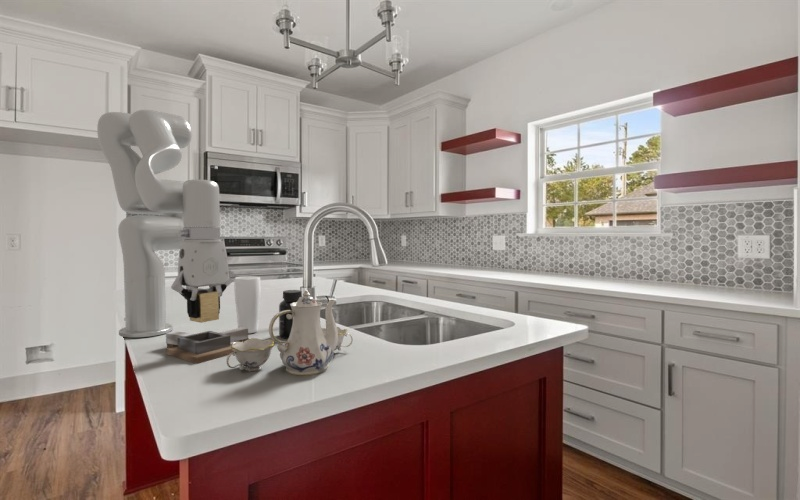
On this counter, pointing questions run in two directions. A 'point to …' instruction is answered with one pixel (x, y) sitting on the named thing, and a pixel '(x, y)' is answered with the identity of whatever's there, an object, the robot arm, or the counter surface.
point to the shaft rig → (203, 344)
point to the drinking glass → (247, 302)
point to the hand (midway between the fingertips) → (204, 314)
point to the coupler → (207, 305)
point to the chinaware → (296, 341)
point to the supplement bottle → (285, 323)
